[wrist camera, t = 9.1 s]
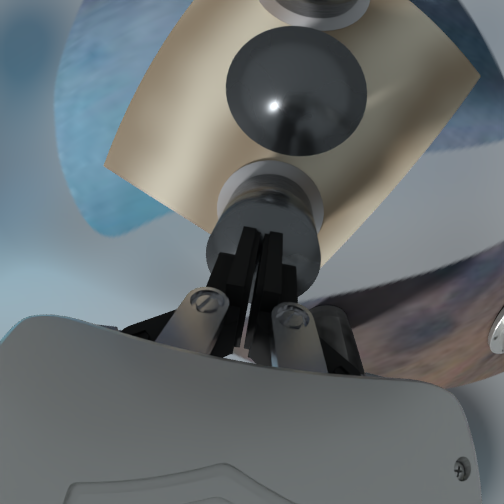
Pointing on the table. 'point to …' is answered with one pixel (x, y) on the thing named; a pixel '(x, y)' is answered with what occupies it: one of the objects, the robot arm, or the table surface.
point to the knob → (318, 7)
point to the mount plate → (268, 162)
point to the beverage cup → (337, 333)
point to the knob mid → (296, 91)
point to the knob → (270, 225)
